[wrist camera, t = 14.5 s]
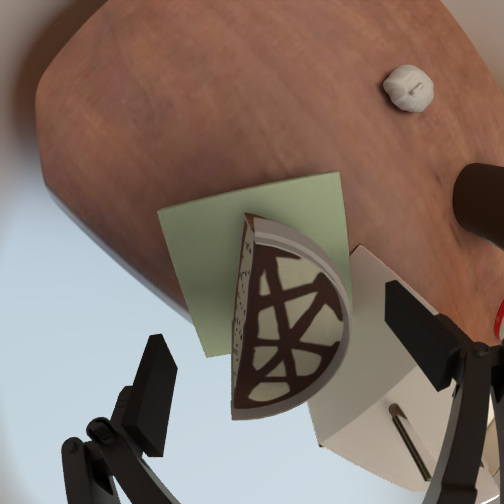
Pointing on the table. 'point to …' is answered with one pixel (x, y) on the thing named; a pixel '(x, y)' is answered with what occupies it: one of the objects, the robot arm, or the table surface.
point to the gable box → (389, 396)
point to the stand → (229, 235)
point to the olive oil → (481, 202)
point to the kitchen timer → (500, 323)
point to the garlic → (409, 88)
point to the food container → (284, 320)
